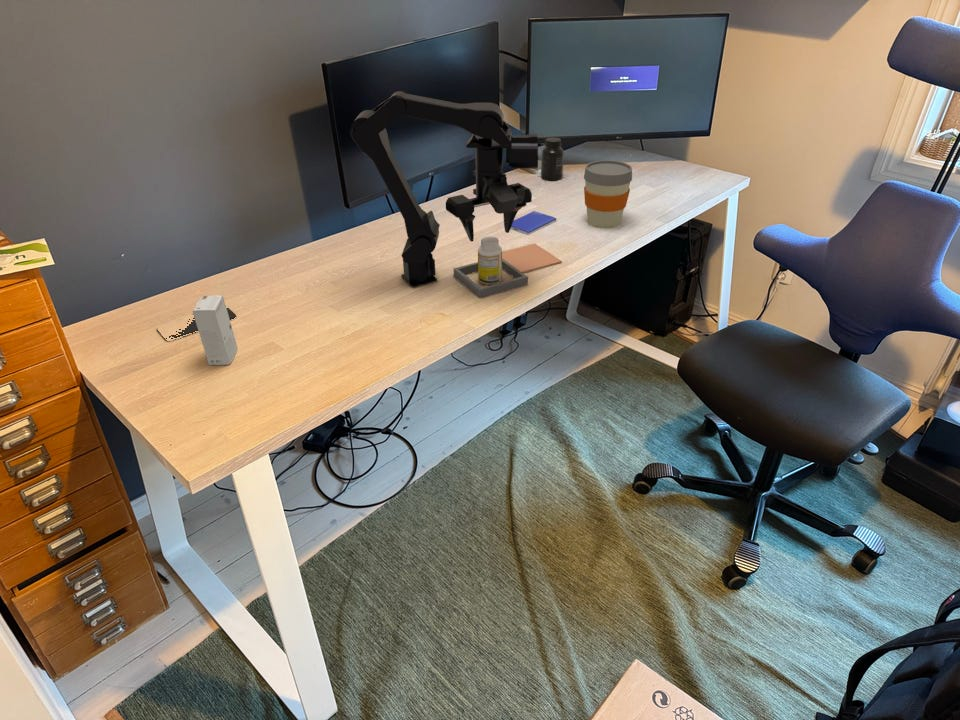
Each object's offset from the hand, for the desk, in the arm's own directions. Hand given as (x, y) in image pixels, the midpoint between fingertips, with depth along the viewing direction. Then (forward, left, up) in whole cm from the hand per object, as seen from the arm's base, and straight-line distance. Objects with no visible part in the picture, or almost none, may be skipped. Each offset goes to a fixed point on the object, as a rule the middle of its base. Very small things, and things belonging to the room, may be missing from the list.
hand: (489, 236), depth 151 cm
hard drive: (+26, +23, -12) cm, 37 cm away
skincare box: (-61, -1, -11) cm, 62 cm away
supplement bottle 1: (0, 0, -11) cm, 11 cm away
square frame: (0, 0, -11) cm, 11 cm away
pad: (+14, +5, -11) cm, 18 cm away
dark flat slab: (-63, +15, -12) cm, 66 cm away
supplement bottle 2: (+52, +51, -11) cm, 74 cm away
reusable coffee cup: (+44, +14, -11) cm, 48 cm away
